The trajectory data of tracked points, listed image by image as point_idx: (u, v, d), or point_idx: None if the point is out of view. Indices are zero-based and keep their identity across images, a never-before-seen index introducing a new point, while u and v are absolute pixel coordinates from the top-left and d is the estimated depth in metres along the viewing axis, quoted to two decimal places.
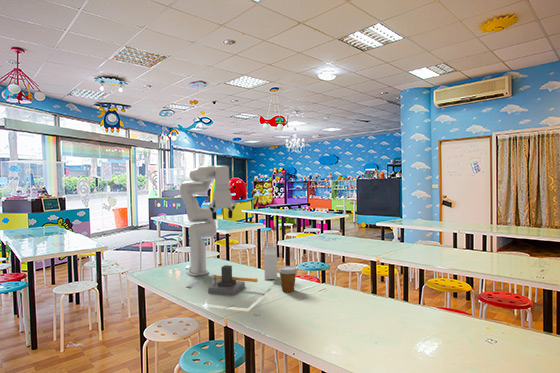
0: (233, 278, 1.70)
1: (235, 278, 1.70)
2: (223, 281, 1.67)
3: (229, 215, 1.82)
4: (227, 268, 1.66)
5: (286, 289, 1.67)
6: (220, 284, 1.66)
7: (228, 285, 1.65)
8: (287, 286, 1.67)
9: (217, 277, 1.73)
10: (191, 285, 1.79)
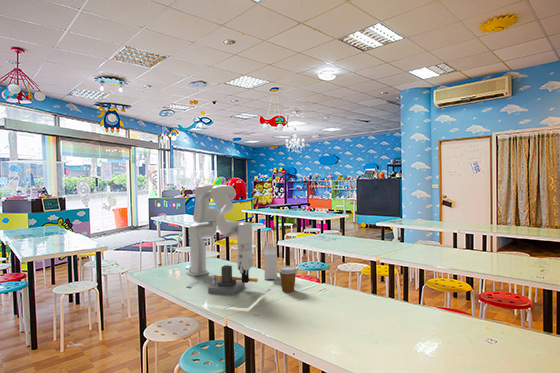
0: (233, 278, 1.70)
1: (235, 278, 1.70)
2: (223, 281, 1.67)
3: None
4: (227, 268, 1.66)
5: (286, 289, 1.67)
6: (220, 284, 1.66)
7: (228, 285, 1.65)
8: (287, 286, 1.67)
9: (217, 277, 1.73)
10: (191, 285, 1.79)
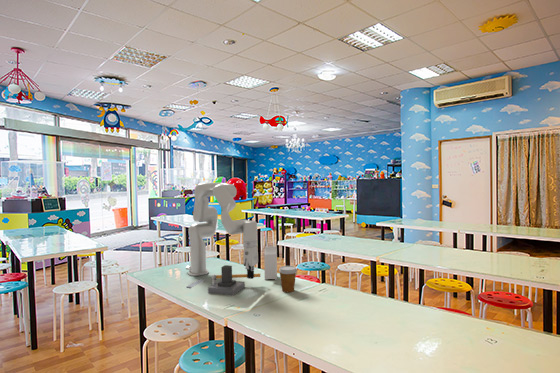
0: (235, 276, 1.75)
1: (238, 275, 1.75)
2: (223, 281, 1.67)
3: None
4: (227, 268, 1.66)
5: (286, 289, 1.67)
6: (220, 284, 1.66)
7: (228, 285, 1.65)
8: (287, 286, 1.67)
9: (218, 276, 1.74)
10: (191, 285, 1.79)
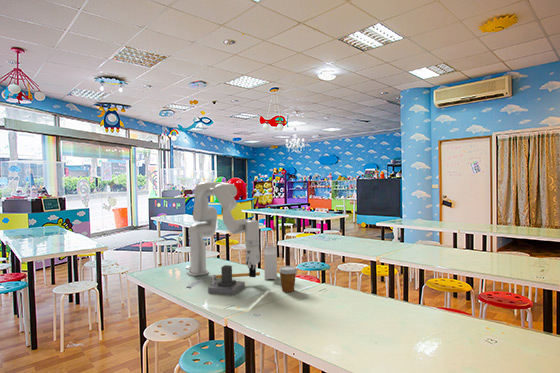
0: (236, 275, 1.76)
1: (238, 275, 1.76)
2: (223, 281, 1.67)
3: None
4: (227, 268, 1.66)
5: (286, 289, 1.67)
6: (220, 284, 1.66)
7: (228, 285, 1.65)
8: (287, 286, 1.67)
9: (218, 276, 1.74)
10: (191, 285, 1.79)
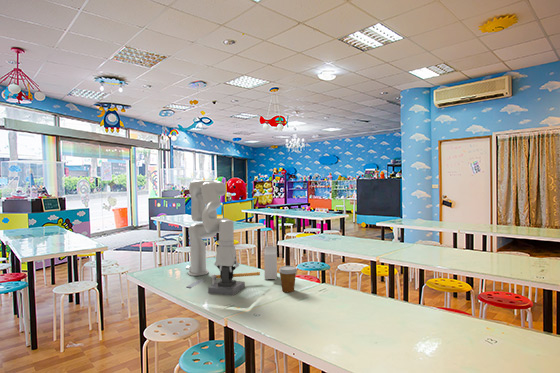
0: (236, 275, 1.76)
1: (238, 274, 1.76)
2: (223, 281, 1.67)
3: None
4: (227, 268, 1.66)
5: (286, 289, 1.67)
6: (220, 284, 1.66)
7: (228, 285, 1.65)
8: (287, 286, 1.67)
9: (218, 276, 1.74)
10: (191, 285, 1.79)
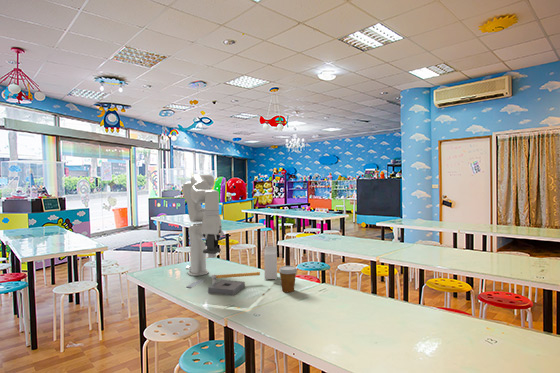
0: (236, 275, 1.76)
1: (238, 274, 1.76)
2: (208, 248, 1.75)
3: None
4: (212, 236, 1.74)
5: (286, 289, 1.67)
6: (205, 251, 1.74)
7: (213, 252, 1.73)
8: (287, 286, 1.67)
9: (218, 276, 1.74)
10: (191, 285, 1.79)
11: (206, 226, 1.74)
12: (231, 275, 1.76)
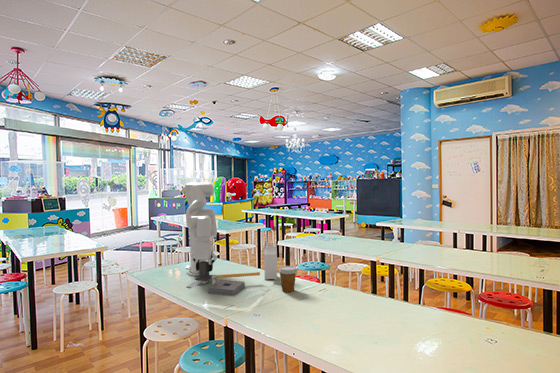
0: (236, 275, 1.76)
1: (238, 274, 1.76)
2: (200, 276, 1.80)
3: (198, 267, 1.83)
4: (204, 263, 1.79)
5: (286, 289, 1.67)
6: (198, 278, 1.79)
7: (205, 279, 1.78)
8: (287, 286, 1.67)
9: (218, 276, 1.74)
10: (191, 285, 1.79)
11: (198, 252, 1.79)
12: (231, 275, 1.76)
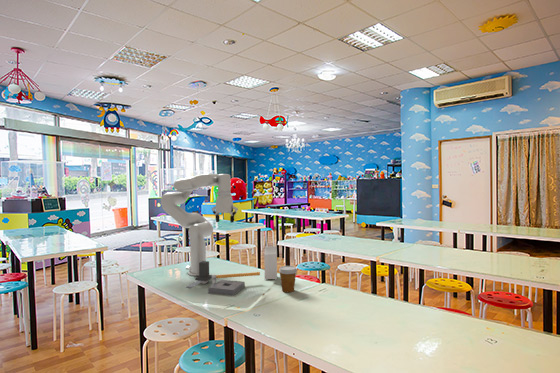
0: (236, 275, 1.76)
1: (238, 274, 1.76)
2: (200, 276, 1.80)
3: (218, 219, 1.99)
4: (204, 263, 1.79)
5: (286, 289, 1.67)
6: (198, 278, 1.79)
7: (205, 279, 1.78)
8: (287, 286, 1.67)
9: (218, 276, 1.74)
10: (191, 285, 1.79)
11: (219, 205, 1.95)
12: (231, 275, 1.76)
